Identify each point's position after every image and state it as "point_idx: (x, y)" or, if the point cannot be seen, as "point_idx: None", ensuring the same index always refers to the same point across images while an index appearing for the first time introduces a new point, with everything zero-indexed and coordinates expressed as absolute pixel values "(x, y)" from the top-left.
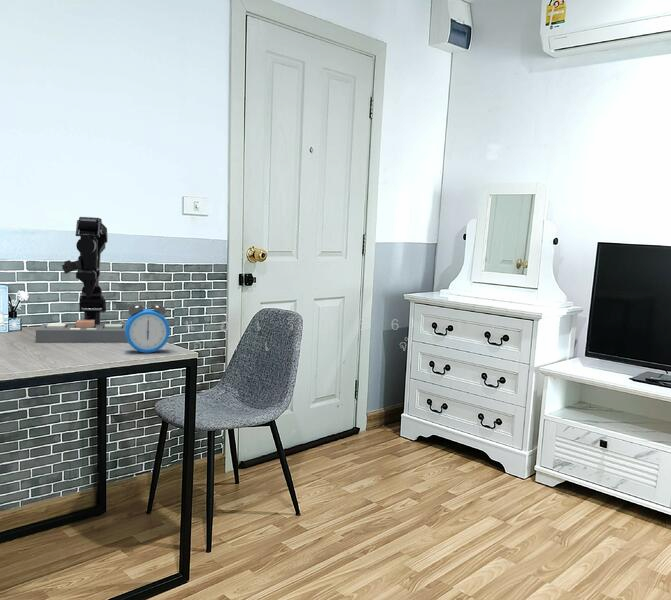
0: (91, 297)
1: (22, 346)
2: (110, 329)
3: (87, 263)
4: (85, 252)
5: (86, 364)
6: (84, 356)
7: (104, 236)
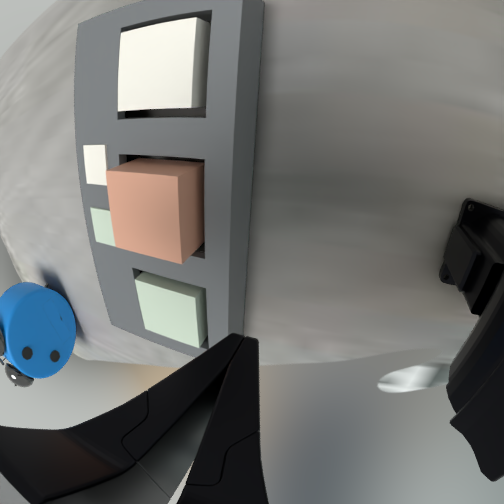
0: (495, 368)
1: (68, 23)
2: (117, 287)
3: None
4: None
5: None
6: (11, 193)
7: None
